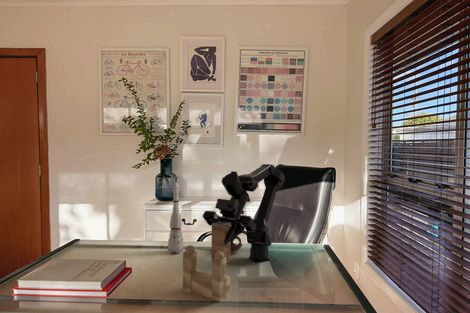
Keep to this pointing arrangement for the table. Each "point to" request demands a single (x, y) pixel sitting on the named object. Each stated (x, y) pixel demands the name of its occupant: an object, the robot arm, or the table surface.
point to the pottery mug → (234, 246)
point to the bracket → (220, 239)
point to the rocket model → (175, 225)
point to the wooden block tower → (205, 276)
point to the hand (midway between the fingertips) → (218, 242)
